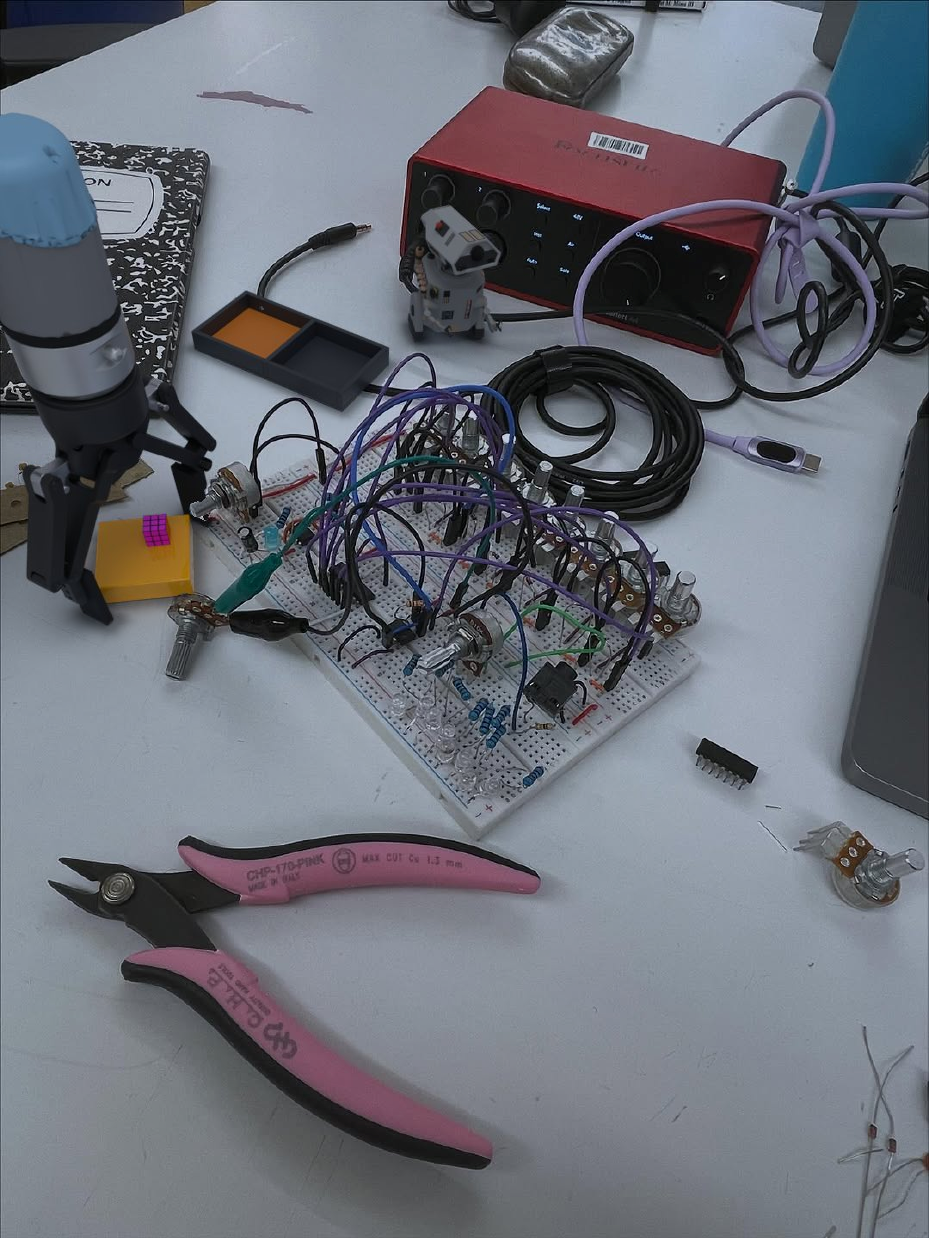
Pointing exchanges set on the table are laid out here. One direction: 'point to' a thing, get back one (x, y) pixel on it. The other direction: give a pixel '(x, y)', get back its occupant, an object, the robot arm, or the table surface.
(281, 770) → the table surface
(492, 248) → the figurine
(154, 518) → the orange box
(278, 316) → the divided tray
